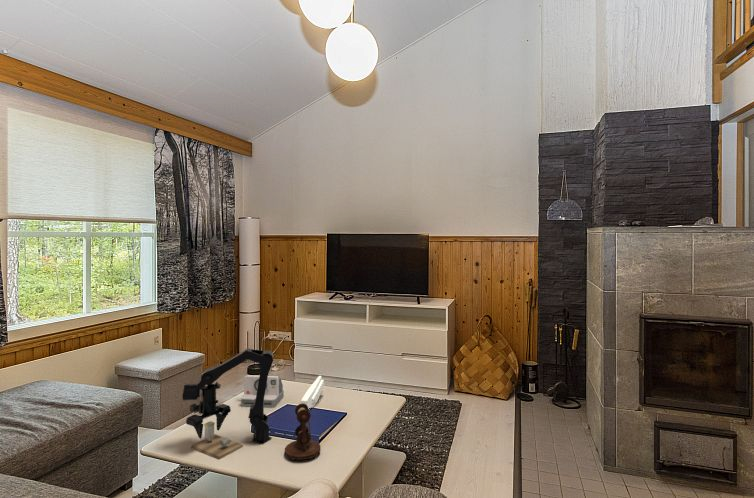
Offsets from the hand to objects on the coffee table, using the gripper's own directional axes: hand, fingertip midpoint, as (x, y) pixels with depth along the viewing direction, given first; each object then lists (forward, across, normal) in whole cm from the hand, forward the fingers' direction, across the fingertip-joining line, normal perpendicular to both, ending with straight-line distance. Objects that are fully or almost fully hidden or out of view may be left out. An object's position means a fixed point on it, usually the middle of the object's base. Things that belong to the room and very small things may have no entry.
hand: (209, 434), depth 185 cm
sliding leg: (+3, 0, 0) cm, 3 cm away
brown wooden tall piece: (+5, -15, +40) cm, 43 cm away
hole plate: (+5, 0, +5) cm, 7 cm away
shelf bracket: (+5, -60, +9) cm, 61 cm away
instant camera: (+5, -49, -18) cm, 52 cm away
